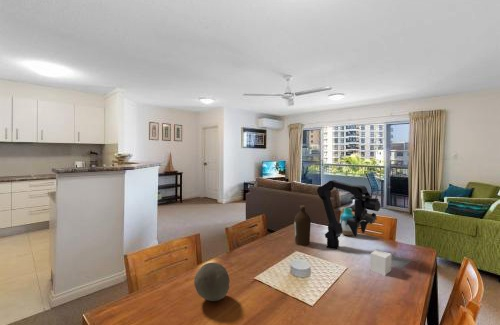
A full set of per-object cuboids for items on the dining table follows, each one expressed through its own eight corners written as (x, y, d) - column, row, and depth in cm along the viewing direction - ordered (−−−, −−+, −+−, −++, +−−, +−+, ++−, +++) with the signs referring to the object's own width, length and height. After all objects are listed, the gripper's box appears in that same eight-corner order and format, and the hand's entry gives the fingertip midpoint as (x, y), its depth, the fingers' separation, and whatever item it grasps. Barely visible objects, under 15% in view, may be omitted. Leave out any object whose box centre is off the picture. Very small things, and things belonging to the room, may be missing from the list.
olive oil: (311, 241, 168) (311, 204, 166) (309, 247, 158) (309, 208, 156) (295, 239, 171) (295, 203, 170) (292, 244, 161) (293, 206, 160)
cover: (370, 270, 127) (370, 253, 127) (376, 266, 132) (376, 249, 131) (385, 275, 122) (385, 257, 121) (391, 271, 126) (391, 253, 126)
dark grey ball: (213, 286, 113) (213, 254, 112) (236, 298, 104) (236, 263, 103) (188, 301, 102) (187, 265, 101) (211, 315, 93) (210, 277, 92)
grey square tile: (374, 259, 139) (374, 259, 139) (384, 253, 148) (384, 252, 148) (401, 269, 128) (401, 268, 128) (411, 261, 137) (411, 260, 137)
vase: (352, 232, 184) (353, 207, 183) (357, 237, 174) (358, 210, 173) (338, 232, 185) (338, 206, 184) (342, 237, 175) (342, 210, 174)
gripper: (366, 213, 130) (365, 242, 130) (381, 207, 141) (381, 234, 142) (346, 209, 138) (345, 236, 139) (362, 204, 150) (362, 229, 151)
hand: (359, 234), depth 143 cm, fingers open, 9 cm apart
